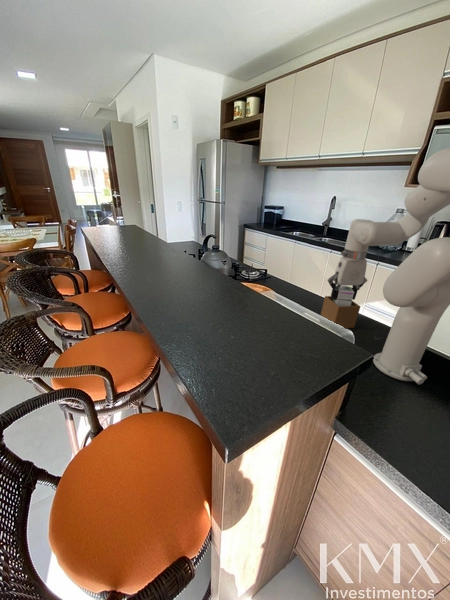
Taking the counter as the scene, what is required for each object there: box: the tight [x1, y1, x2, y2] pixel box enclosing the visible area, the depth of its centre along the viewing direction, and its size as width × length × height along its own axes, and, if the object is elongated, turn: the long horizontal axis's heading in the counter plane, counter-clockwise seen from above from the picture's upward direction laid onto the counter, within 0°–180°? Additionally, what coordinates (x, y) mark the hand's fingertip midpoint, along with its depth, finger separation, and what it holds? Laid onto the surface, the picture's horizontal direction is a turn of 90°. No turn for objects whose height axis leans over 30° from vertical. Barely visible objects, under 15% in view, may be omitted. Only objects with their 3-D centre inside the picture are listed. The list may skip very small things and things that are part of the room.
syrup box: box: [333, 285, 354, 306], centre depth 100 cm, size 6×6×14 cm
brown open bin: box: [320, 295, 361, 329], centre depth 101 cm, size 10×9×10 cm
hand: (342, 298), depth 99 cm, fingers closed on syrup box, 7 cm apart
